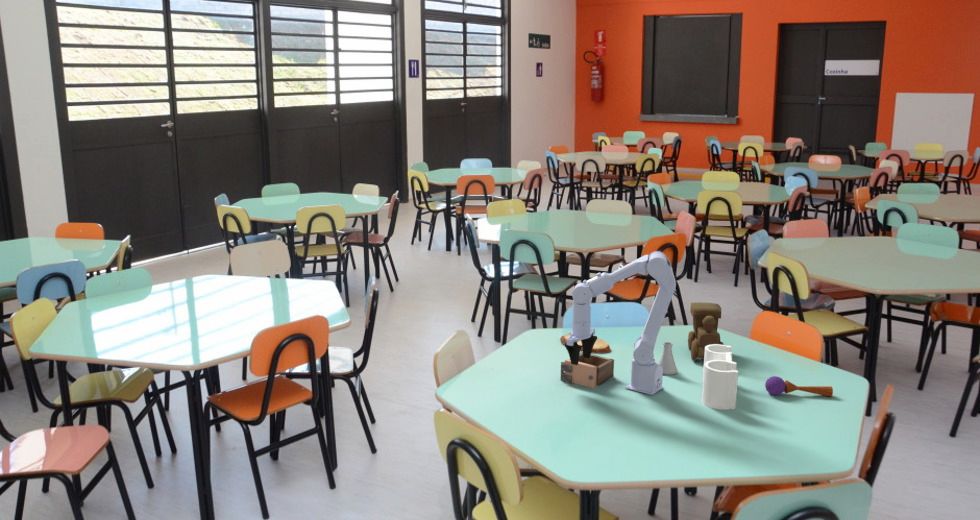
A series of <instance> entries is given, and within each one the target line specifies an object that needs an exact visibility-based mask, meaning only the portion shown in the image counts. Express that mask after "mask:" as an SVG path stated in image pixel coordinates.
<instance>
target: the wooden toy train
mask: <svg viewBox="0 0 980 520" xmlns="http://www.w3.org/2000/svg"><path fill="white" fill-rule="evenodd" d="M690 315H691V316H692V329H693V330H691V331H689V332H688V337H687V346H688V350H690V358H691V361H697V359H704V354H705V346H707V345H711V344H720V345H725V344H724V342H723V341H721V334H720V332H718V327H719V319H722V307H721V305H720V304H719V303H714V302H690Z"/></svg>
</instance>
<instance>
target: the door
mask: <svg viewBox="0 0 980 520" xmlns="http://www.w3.org/2000/svg"><path fill="white" fill-rule="evenodd" d="M564 362H565V365H568V366H572V370H571V373H569V372H565V371H564V372H565V373H564V374H565V375H569V376H571V383H574V384H577V385H581V386H583V387H584V386H585V387H589V388H592V389H594V388H596V387H597V385H596V375H597V366H594V365H590V364H586V363H582V362H578V365H573V364H571V360H570V358H569V359H568V358H566V359H565V360H564Z"/></svg>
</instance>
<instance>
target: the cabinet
mask: <svg viewBox="0 0 980 520" xmlns="http://www.w3.org/2000/svg"><path fill="white" fill-rule="evenodd" d="M579 362H582V363H586V364H590V365H594V366H597V375H596V387H598V386H599V387H600V386H601V385H602V384H604V383H606V382H607V381H609V380H610V379H612V378H613V377H614V375H615V373H614V372H615V370H614V368H615V359H613V358H608V357H606V356H601V355H597V354H594V353H591V356H590V358H585V357H583V351H581V352H580V354H579ZM571 370H572V366H568V365H565V361H561V362H560V381H562V382H566V383H570V384H571V383H572V382H571V376H569V375H565V374H564V373H565V372H569V373H571Z"/></svg>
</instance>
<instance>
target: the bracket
mask: <svg viewBox="0 0 980 520" xmlns="http://www.w3.org/2000/svg"><path fill="white" fill-rule="evenodd" d="M737 364H738V363H737V362H736V361H733V352H732V346H731V345H726V344H724V345H720V344H711V345H707V346H705V354H704V358H703V371H702V390H701V391H702V393H701V403H702V404H703V405H704V406H706V407H707V408H711V409H713V410H725V411H726V410H735V409H736V406H737V393H738V391H737V389H738V377H739V371H738V370H737Z"/></svg>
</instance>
